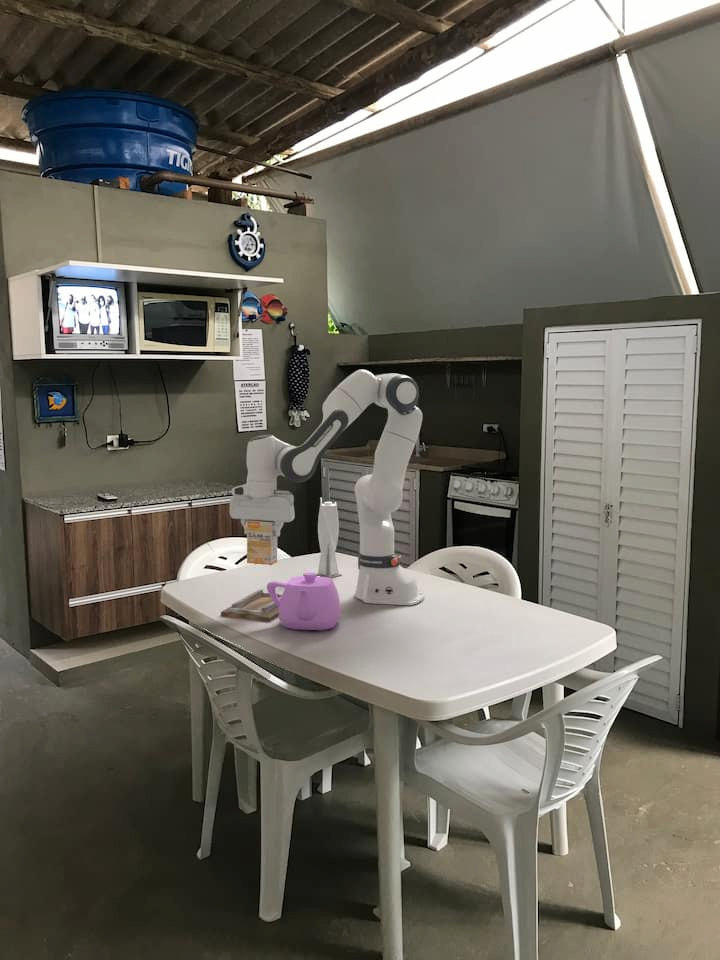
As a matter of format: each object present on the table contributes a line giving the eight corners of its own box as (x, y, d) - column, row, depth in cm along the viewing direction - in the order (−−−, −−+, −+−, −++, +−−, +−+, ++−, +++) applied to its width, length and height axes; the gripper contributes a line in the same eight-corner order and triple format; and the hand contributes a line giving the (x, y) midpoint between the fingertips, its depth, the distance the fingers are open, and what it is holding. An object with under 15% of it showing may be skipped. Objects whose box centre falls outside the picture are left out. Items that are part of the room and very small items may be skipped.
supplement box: (246, 563, 232) (245, 520, 230) (253, 560, 236) (252, 518, 235) (271, 565, 229) (271, 522, 228) (278, 562, 234) (277, 519, 232)
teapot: (272, 614, 229) (272, 565, 227) (343, 617, 227) (343, 567, 225) (255, 639, 206) (255, 584, 204) (334, 642, 204) (334, 587, 202)
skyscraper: (311, 575, 276) (311, 497, 273) (326, 571, 282) (326, 495, 279) (328, 579, 271) (329, 500, 267) (343, 575, 277) (344, 497, 274)
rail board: (301, 601, 242) (301, 591, 242) (270, 621, 222) (270, 611, 221) (255, 596, 247) (255, 587, 247) (220, 615, 227) (220, 605, 226)
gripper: (298, 489, 230) (298, 535, 231) (236, 486, 236) (237, 530, 238) (289, 492, 224) (289, 539, 225) (226, 488, 230) (227, 534, 232)
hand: (262, 534), depth 232 cm, fingers closed on supplement box, 8 cm apart
